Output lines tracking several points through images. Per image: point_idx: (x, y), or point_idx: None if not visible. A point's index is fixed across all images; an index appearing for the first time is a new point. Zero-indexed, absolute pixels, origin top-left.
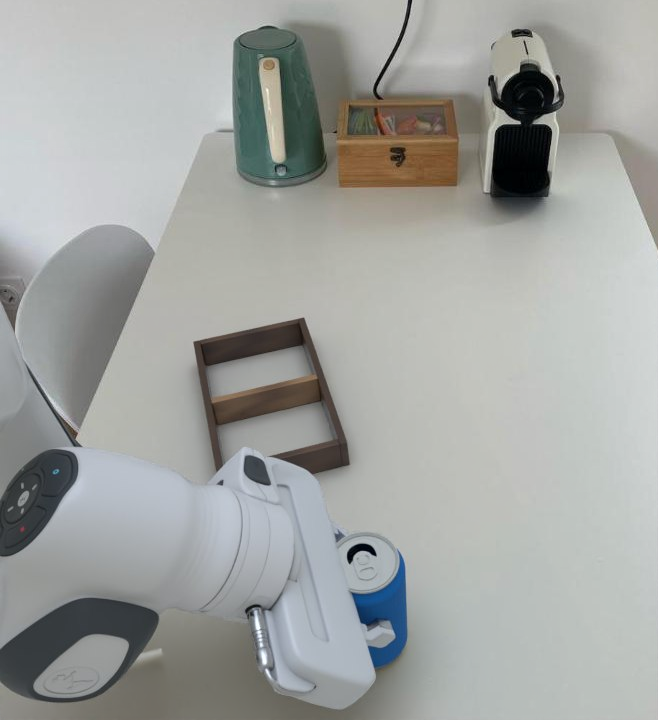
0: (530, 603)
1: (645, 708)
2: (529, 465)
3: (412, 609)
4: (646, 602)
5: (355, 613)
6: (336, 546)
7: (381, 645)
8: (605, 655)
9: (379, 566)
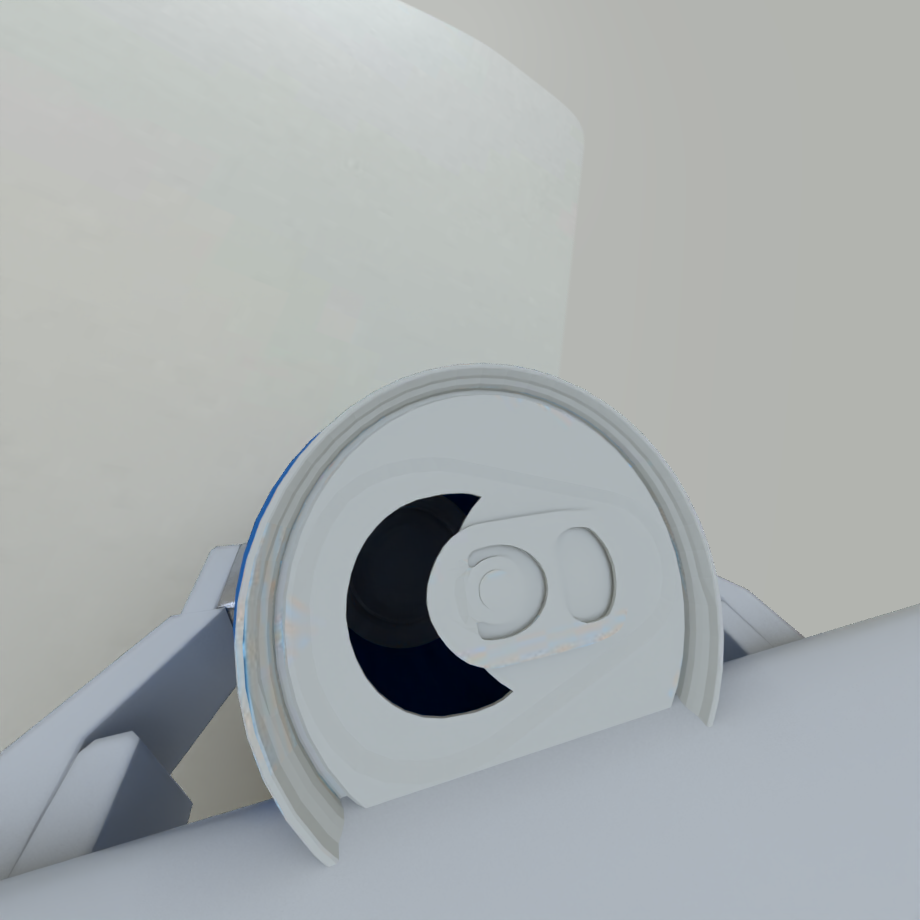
0: (402, 284)
1: (568, 237)
2: (74, 141)
3: None
4: (439, 157)
5: (818, 674)
6: (335, 836)
7: None
8: (501, 239)
9: (544, 492)
